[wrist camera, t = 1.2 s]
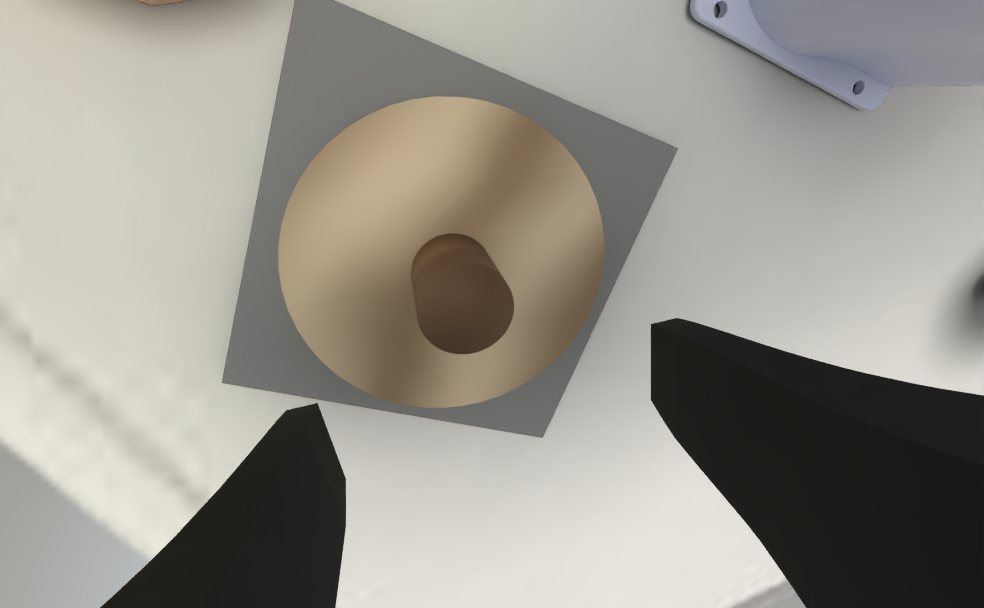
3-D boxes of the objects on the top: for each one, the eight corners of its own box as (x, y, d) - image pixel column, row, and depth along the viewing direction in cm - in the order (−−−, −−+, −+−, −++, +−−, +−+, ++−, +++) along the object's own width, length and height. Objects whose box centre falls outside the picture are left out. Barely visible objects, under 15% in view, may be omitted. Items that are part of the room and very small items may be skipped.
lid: (645, 164, 18) (714, 183, 14) (532, 417, 22) (563, 486, 18) (324, 36, 15) (301, 14, 11) (254, 366, 18) (219, 438, 14)
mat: (673, 147, 19) (678, 148, 18) (540, 433, 23) (542, 437, 23) (299, -14, 14) (297, -16, 14) (224, 378, 19) (221, 382, 18)
